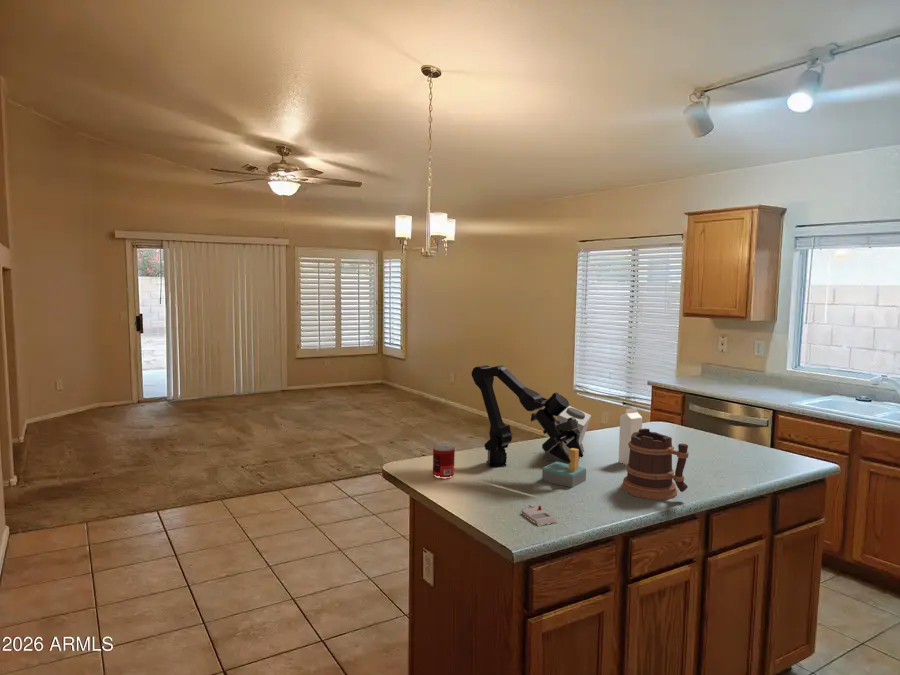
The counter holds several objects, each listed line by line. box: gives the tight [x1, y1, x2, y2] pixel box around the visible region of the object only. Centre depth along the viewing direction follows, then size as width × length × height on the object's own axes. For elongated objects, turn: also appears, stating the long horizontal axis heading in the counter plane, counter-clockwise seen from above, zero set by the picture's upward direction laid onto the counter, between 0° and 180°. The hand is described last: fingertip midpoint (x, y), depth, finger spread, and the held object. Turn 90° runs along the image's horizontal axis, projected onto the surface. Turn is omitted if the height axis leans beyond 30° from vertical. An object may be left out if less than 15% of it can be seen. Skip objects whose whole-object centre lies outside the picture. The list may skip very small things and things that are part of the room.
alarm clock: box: [542, 405, 592, 463], centre depth 236 cm, size 20×16×20 cm
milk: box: [617, 407, 643, 466], centre depth 227 cm, size 6×6×22 cm
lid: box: [541, 448, 587, 478], centre depth 204 cm, size 12×10×10 cm
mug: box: [621, 428, 690, 501], centre depth 196 cm, size 18×23×20 cm
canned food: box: [432, 443, 456, 477], centre depth 209 cm, size 8×8×11 cm
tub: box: [541, 470, 587, 488], centre depth 205 cm, size 12×10×4 cm
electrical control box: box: [520, 504, 558, 525], centre depth 173 cm, size 7×16×3 cm, turn 23°
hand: (576, 459), depth 201 cm, fingers open, 9 cm apart
